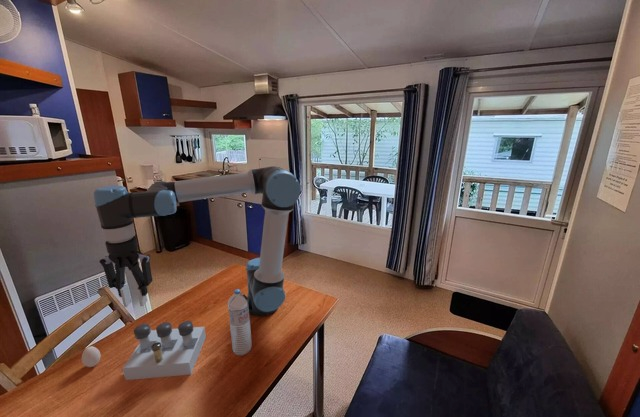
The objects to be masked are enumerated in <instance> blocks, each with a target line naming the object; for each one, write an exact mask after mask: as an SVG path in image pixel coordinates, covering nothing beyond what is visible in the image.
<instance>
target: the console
mask: <svg viewBox="0 0 640 417" xmlns="http://www.w3.org/2000/svg"><path fill="white" fill-rule="evenodd" d="M150 331H151V332H150V334H149V338H150V342H151V345H150V347H148V348H147V349H141V348H140V344H138V345H137V346H136V348H135V349H134V351H133V352H132V354H131V355H130V357H128V360H127V361H126V363H125V364H124V365H123V367H122V372H123V375H124V379H125V381H132V380H143V379H154V378H164V377H167V378H169V377H176V376H188V375H189V376H190V375H192V374H193V371H194V368H195V366H196V363H197V361H198V359H199V356H200V354H201V350H202V348H203V345H204V343H205V340H206V338H207V336H206V328H205V326H195V327H194V326H193V332H192V338H193V343H192V344H191V345H189V346H184V344H183V339H182V336H181V335H179V330H178V327H177V328H172V332H171V340H172V344H171V345H170V346H169V347H167V348H163V347H162V343H161V338H160V337H158V336H157V331H156V329H150ZM157 342H160V343H161V353H162V358H163V360H162V361H161V362H159V363H156V361H155V357H154V352H153V351H152V348H151V346H152V345H153V344H154V343H157Z"/></svg>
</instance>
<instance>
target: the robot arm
mask: <svg viewBox="0 0 640 417" xmlns="http://www.w3.org/2000/svg"><path fill="white" fill-rule="evenodd" d="M247 193H251V194H253V195H258V194H259V195H260V194H262V197H261V198H262V199H261V207H262V208H263V210H264V217H263V218H264V219H263V227H262V228H263V229H262V237H261V244H260V245H261V246H260V254H259V257H256V258H253V259H251V260H249V261H247V263H246V268H245V270H246V280H247V292H248V293H247V295H246V296H247V298H248V302H249V303H248V307H249V316H250V315H251V316H252V317H260V318H261V317H266V316H270V315H271V314H273V313H274V312H276V311H277V310H278V309H279V307H282V305H283V304H284V302H285V300H286V292H285V290H284V281H285V273H284V271H282V268H283V260H284V252H285V246H286V236H287V229H288V222H289V214H290V213H291V212H292V211H294V207H295V203H296V202H298V200H299V198H300V195H301V184H300V182H299V179H297V177H296V176H295V174H293V173H292V172H290V171H288V170H285V169H283V168H282V167H279V166H267V167H261V168H255V169H249V170H248V172H241V173H235V174H233V173H232V174H227V175H219V176H218V175H217V176H211V177H201V178H193V179H191V178H190V179H183V180H177V181H163V180H160V181H156V182H154V183H152V184H151V185H150V186H149V187H148V189H147V190H146V191H141V192H128V190H127V188H126V187H125V186H123V185H109V186H102V187H99V188H96V189H95V190H94V191H93V199H94V203H95V205H94V206H95V208H96V212H97V215H98V220H99V223H100V228H101V231H102V232H101V233H102V237H103V240H104V241H105V248H106V251H107V253H108V256H107V255H105V256H104V257H102V258H101V259H99V263H100V265H101V266H102V267H103V271H104V274H105V277H106V280H107V284H108V288H110V289H113V288H114V289H116V290H117V294H118V297H119V298H121V300H122V303H123V308H128V306H130V305H131V303H132V302H133V301H132V297H131V293H130V288H129V285H128V284H126V283H127V281H126V278H125V276H126V268H127V269H128V271H131V273H132V276H133V277H134V278H133V279H134V280H135V282H136V284H137V286H138V287H137V288H136V292H137V298H138V301H139V305H140V307H144V306H145V305H146V304H147V302H148V298H147V294H149V289H148V287H149V285H150V284H151V283H152V282H153V274H152V268H151V264H150V260H151V257H152V256H151V254H146V255H145V254H142V253H141V252H140V250H139V243H138V238H137V235H136V229H135V225H134V219H138V218H151V217H161V216H162V217H165V216H169V215H174V214H176V212H177V211H178V210H177V207H178V206H177V205H178V203H185V202H190V201H198V200H205V199H212V198H218V197H219V198H220V197H226V196H232V195H239V194H247ZM140 263H141V265H140Z"/></svg>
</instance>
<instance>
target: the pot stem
mask: <svg viewBox="0 0 640 417" xmlns="http://www.w3.org/2000/svg"><path fill="white" fill-rule="evenodd" d="M151 348H152V351H153V352H154V357H155V361H156V363H159V362H161V361H162V360H163V358H162V353H161V343H160V342H157V343H154V344H153V345H152V346H151Z"/></svg>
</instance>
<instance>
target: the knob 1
mask: <svg viewBox="0 0 640 417" xmlns="http://www.w3.org/2000/svg"><path fill="white" fill-rule="evenodd" d="M150 327H151V326H150V324H149V323H142V324H138V326H136V327H135V328H134V329H133V335H134V338H135V339H136V340H138V343H139V344H140V348H141V349H147V348H148V347H150V345H151V342H150V338H149V334H150V332H151V331H150V330H151V328H150ZM139 344H138V345H139Z"/></svg>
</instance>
